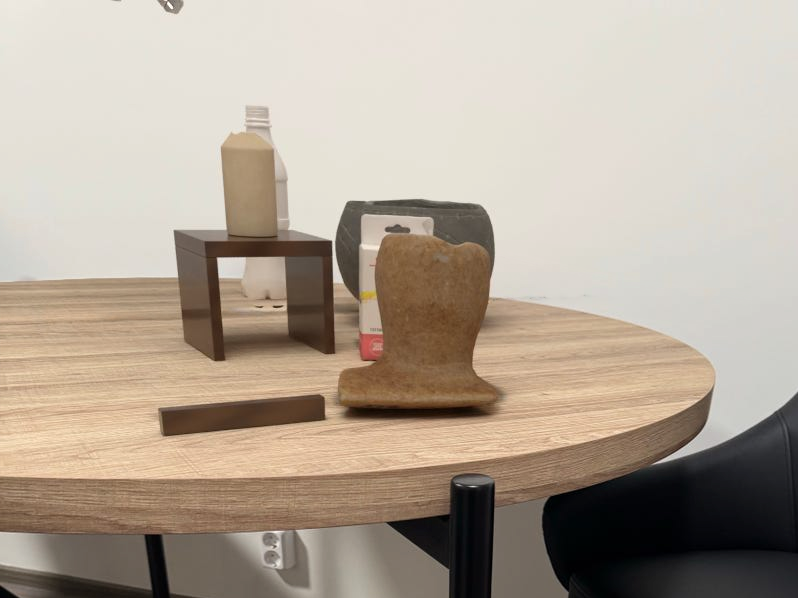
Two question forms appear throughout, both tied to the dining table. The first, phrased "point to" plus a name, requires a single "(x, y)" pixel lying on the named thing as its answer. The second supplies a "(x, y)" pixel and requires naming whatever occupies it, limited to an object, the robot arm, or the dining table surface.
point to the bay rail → (241, 414)
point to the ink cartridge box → (368, 254)
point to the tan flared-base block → (425, 327)
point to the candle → (249, 186)
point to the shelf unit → (301, 251)
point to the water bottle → (269, 272)
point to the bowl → (449, 225)
